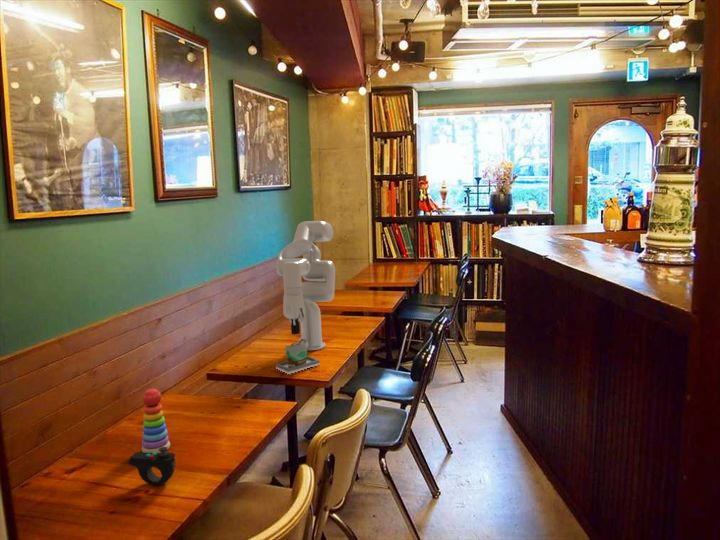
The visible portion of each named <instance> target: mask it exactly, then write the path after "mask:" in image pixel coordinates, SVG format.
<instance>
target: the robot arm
mask: <svg viewBox="0 0 720 540" xmlns="http://www.w3.org/2000/svg"><path fill="white" fill-rule="evenodd" d="M293 237H294V238H293V241H291V242H290V243H289V244H288V245H286V246H285V247H284V248H282V249H281V251H279V254H278V257H277V259H276V266H275V269H276V273H277V275H278V276H281V277H283V278H282V279H283V280H282V281H283V297H282V303H283V304H282V308H283V309H282V310H283V311H282V312H283V313H282V314H283V316H284V318H287V319H288V320H289V323H290V330H291V332H290V333H291V334H292V335H299V334H300V333H301V336H300V337H299V341H301V338H302V339H306V340H307V342H308V347H307V352H308V351H309V352H311V351H319V350H322V349H324V348H325V347H326V342H325V341H323V336H322V319H321V309H320V306H318V304H317V302H318V303H321V302H324V303H325V302H331V301H333V300H334V297H335V291H336V290H335V285H336V266H335V264H334V262H333V261H332V260H325V259H324V260H323V259H322V260H321V257H322V255H321V254H322V252H321V250H320V249H319V247H318V246H317V245H316V244H314V243H317V242H319V243H320V242H321V243H322V242H324V243H325V242H331V241H332V240H333V238H334V229H333V226H332V224H330V223H329V222H327V221H323V220H305V221H301V222H300V223H299V224H297V227H296V230H295V234H294V236H293ZM313 242H314V243H313ZM301 256H302V258H301ZM299 257H300V258H299ZM302 279H304V281H302Z"/></svg>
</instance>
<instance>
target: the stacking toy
mask: <svg viewBox="0 0 720 540" xmlns="http://www.w3.org/2000/svg"><path fill="white" fill-rule="evenodd" d="M161 400H162V394H161V392H160V390H158V389H156V388H149V389H147V390H146V391H145V392H144V393H143V396H142V401H143V403H144V404H145V406H144V408H143V411H144V413H143V414H142V415H143V422H142V423H143V428H142V432H143V433H142V440H141V445H142V446H141V451H142V452H144V453H160V451H159V449H160V448H161V447H167V450H166V451H168V450H169V449H170V447H171V442H170V440H169V435H168V433H169V431H168V428H167V424H166V422H165V420H166V419H165V416H164V412H163V410H162V409H163V405H162V404H161V403H160V402H161Z"/></svg>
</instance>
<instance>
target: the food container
mask: <svg viewBox="0 0 720 540" xmlns="http://www.w3.org/2000/svg"><path fill="white" fill-rule="evenodd" d="M307 347H308V342H307V340H306V339H302V338H301V340H299V341H297V342H293V343H292V344H290V345H285V347H284V351H285V352H286V353H285V354H286V361H288V368H291V367H295V366H298V365H302V364H305V363H306V360H307V356H308V355H307V353H308V351H307Z"/></svg>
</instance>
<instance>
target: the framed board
mask: <svg viewBox="0 0 720 540" xmlns="http://www.w3.org/2000/svg"><path fill="white" fill-rule="evenodd" d="M318 365H320V360H319V359H318V358H315V357H312V356H309V355H307V360H306V363H305V364H302V365H298V366H295V367H291V368H288V361H287V360H285V361H282V362H278V363H275V368H276V370H277V369H278V370H277V371H279V370H280V371H279V372H281V371H282V372H281V373H283V372H285V373H284V374H286V373H287V374H286V375H288V374H289V375H292V374H291V373H293V374H296V373H299V372H298V371H300V372H302V371H301V370H303V371H305V370H304V369H306V370H308V369H307V368H310V367H313V368H315V367H314V366H317V367H319V366H318ZM320 366H321V365H320ZM310 369H311V368H310ZM295 372H296V373H295Z"/></svg>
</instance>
